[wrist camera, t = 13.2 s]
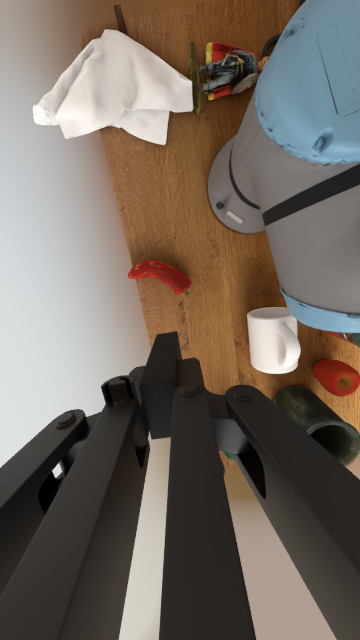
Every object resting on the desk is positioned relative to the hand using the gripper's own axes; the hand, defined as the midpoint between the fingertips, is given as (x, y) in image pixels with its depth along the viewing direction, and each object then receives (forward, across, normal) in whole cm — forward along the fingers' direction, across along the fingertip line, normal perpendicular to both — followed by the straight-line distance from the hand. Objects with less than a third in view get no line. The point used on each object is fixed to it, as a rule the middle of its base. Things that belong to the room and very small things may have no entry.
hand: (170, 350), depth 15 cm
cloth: (+26, -4, +34) cm, 43 cm away
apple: (+27, +28, -20) cm, 44 cm away
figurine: (+24, +8, +32) cm, 41 cm away
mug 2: (+27, +22, -30) cm, 46 cm away
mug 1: (+27, +17, -10) cm, 33 cm away
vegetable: (+24, +3, +1) cm, 25 cm away
